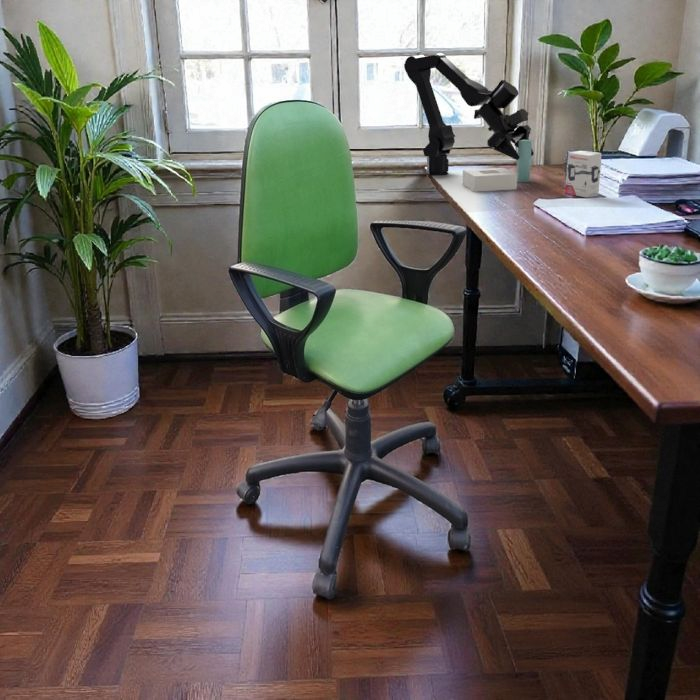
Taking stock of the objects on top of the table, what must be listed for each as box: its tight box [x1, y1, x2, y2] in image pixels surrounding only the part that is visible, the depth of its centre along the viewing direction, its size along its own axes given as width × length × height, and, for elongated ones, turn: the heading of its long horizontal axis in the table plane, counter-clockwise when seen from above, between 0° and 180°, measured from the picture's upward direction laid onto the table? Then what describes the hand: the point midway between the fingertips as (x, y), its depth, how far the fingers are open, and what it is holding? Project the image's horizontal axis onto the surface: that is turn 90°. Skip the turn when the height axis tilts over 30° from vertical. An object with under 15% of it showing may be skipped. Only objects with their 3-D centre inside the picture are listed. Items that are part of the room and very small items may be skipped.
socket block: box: [462, 167, 518, 193], centre depth 232 cm, size 13×13×4 cm
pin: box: [516, 139, 533, 183], centre depth 237 cm, size 4×4×12 cm
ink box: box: [564, 150, 603, 198], centre depth 214 cm, size 8×5×12 cm, turn 31°
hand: (525, 157), depth 236 cm, fingers open, 9 cm apart
